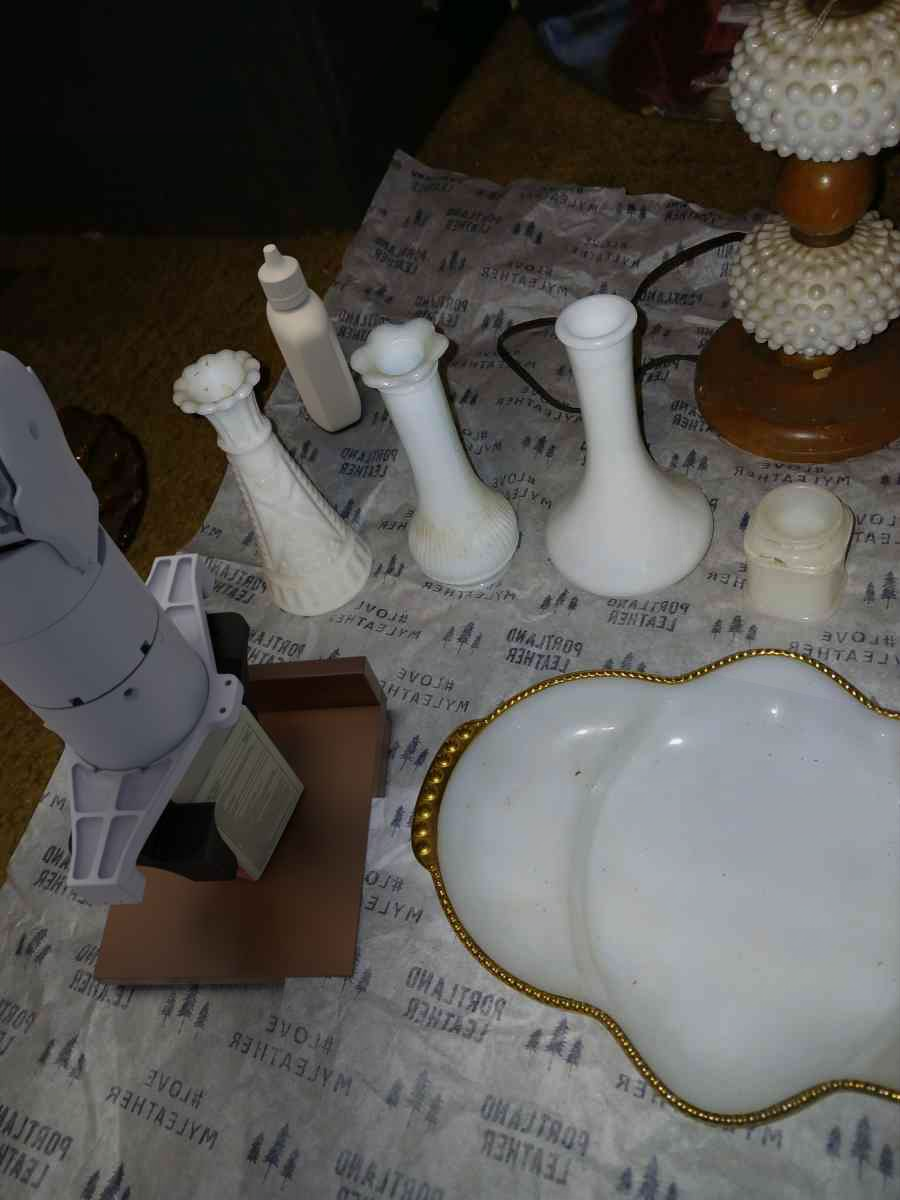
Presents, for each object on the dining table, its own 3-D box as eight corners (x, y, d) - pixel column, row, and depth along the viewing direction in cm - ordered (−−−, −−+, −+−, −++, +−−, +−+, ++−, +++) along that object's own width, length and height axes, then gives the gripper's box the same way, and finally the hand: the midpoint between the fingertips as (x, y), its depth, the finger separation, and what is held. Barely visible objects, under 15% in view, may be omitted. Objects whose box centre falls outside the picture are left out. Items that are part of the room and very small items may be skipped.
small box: (233, 764, 52) (164, 679, 46) (308, 787, 50) (247, 702, 44) (181, 859, 49) (101, 782, 43) (258, 886, 48) (186, 811, 42)
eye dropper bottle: (371, 371, 70) (314, 212, 61) (359, 433, 67) (296, 275, 57) (309, 377, 71) (243, 222, 62) (293, 438, 68) (221, 285, 58)
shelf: (365, 989, 46) (330, 952, 42) (112, 991, 49) (57, 956, 45) (392, 708, 54) (365, 654, 50) (175, 722, 57) (133, 672, 53)
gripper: (140, 827, 33) (289, 966, 43) (225, 474, 41) (331, 663, 52) (-63, 836, 34) (129, 968, 45) (59, 493, 42) (196, 673, 53)
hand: (228, 805), depth 48 cm, fingers closed on small box, 6 cm apart
